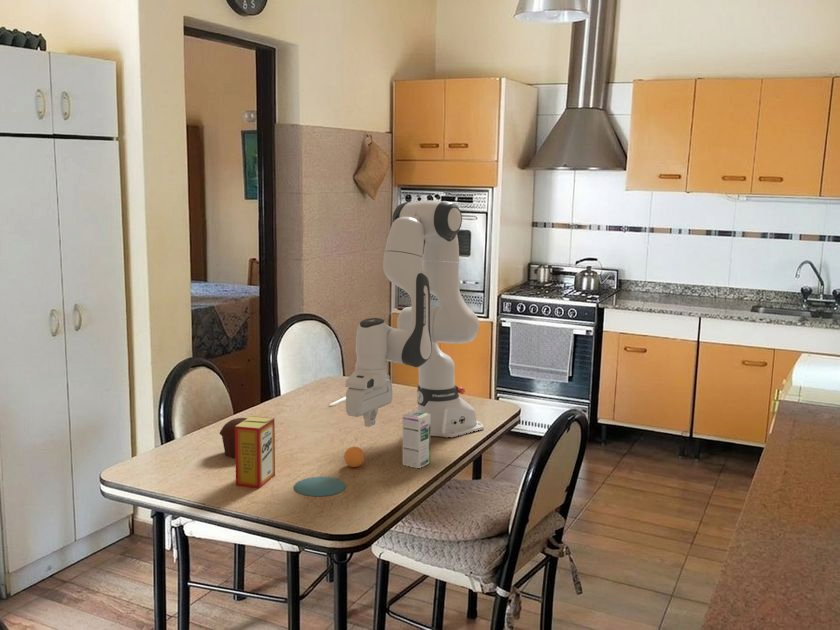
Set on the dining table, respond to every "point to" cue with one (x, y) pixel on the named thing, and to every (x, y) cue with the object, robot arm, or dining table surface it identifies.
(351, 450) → the ball
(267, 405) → the dining table surface
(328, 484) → the teal plate
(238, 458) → the baking soda box
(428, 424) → the syrup box
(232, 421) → the muffin
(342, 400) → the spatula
